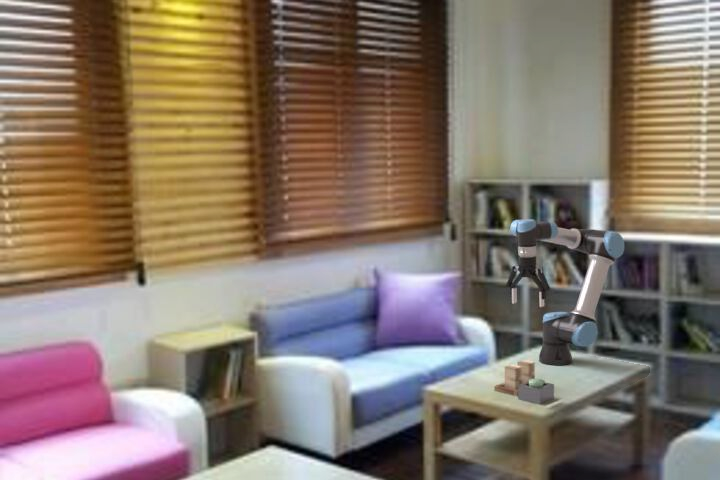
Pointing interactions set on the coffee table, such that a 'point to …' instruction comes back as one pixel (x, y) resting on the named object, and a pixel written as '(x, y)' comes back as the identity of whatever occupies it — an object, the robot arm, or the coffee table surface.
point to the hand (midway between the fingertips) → (528, 304)
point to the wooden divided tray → (506, 389)
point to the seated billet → (513, 376)
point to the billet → (527, 370)
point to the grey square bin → (536, 393)
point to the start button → (536, 383)
